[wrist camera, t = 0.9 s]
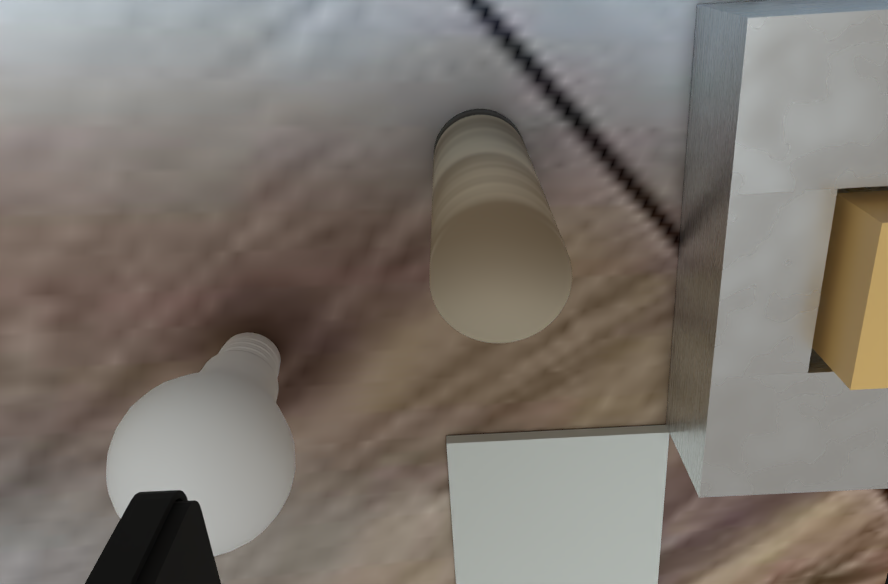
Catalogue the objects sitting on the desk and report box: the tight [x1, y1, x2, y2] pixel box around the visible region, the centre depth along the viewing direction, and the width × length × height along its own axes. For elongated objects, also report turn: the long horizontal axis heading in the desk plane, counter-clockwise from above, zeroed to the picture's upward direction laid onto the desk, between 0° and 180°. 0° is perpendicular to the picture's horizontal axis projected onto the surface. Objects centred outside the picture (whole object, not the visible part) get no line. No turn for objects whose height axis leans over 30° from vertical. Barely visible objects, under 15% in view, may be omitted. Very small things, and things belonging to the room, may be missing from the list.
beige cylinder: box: [430, 109, 572, 343], centre depth 24 cm, size 4×4×12 cm
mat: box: [446, 425, 669, 584], centre depth 37 cm, size 10×10×1 cm
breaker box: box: [666, 0, 888, 497], centre depth 29 cm, size 18×14×5 cm
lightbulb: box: [106, 332, 296, 556], centre depth 28 cm, size 6×6×11 cm
